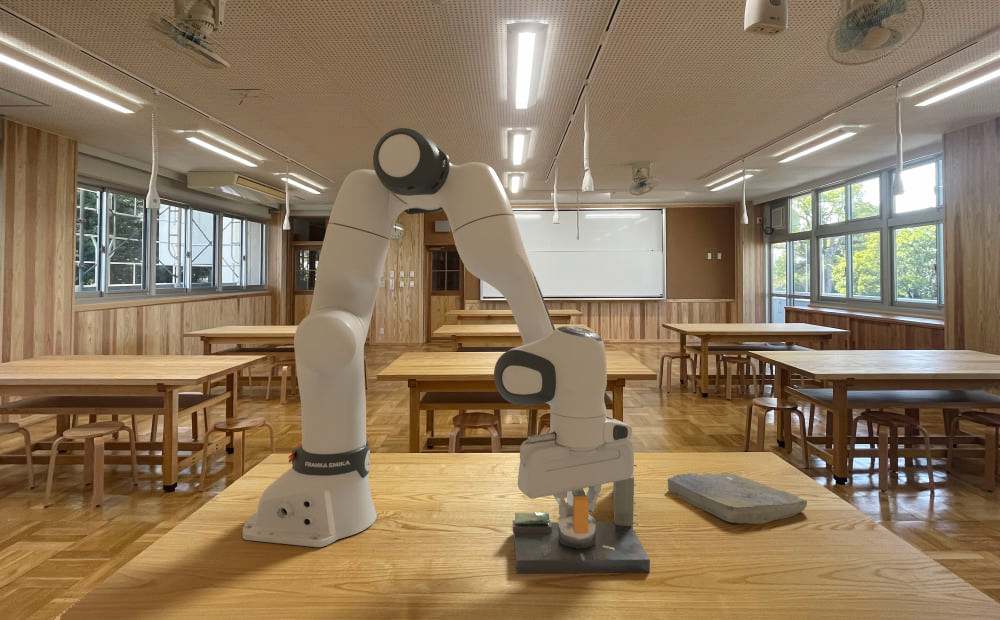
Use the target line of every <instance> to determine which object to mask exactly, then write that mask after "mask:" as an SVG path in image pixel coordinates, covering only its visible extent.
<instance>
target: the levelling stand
mask: <svg viewBox="0 0 1000 620" xmlns="http://www.w3.org/2000/svg"><path fill="white" fill-rule="evenodd" d="M512 533H513V545H514V546H513V547H514V556H515V568H516V569H515V570H516V571H515V572H516V574H577V573H578V574H594V573H595V574H597V573H598V574H599V573H601V574H604V573H606V574H608V573H613V574H614V573H616V574H617V573H618V574H619V573H621V574H622V573H629V574H630V573H631V574H632V573H651V571H650V569H651V568H650V565H651V558H650V557H649V555H648V553H647V552H646V550H645V548H644V546H643V545H642V543H641V542H640V539H639V537H638V536H637V533H635V530H634V528H633V529H632V527H631V526H622V525H617V524H615V522H614V521H596V542H595V543H594V544H593V545H592V546H590V547H586V548H573V547H569V546H566V545H564V544H562V543H561V542H560V541H559V539H558V521H556V522H555V521H554V522H553V521H551V520H550V513H549V512H536V511H532V512H515V513H514V520H512Z"/></svg>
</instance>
